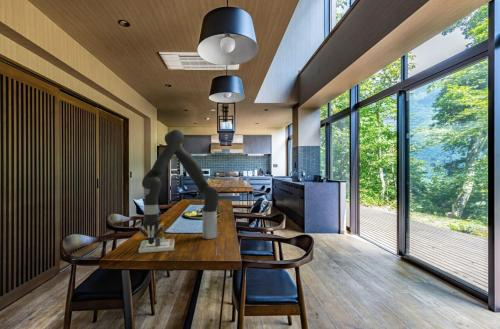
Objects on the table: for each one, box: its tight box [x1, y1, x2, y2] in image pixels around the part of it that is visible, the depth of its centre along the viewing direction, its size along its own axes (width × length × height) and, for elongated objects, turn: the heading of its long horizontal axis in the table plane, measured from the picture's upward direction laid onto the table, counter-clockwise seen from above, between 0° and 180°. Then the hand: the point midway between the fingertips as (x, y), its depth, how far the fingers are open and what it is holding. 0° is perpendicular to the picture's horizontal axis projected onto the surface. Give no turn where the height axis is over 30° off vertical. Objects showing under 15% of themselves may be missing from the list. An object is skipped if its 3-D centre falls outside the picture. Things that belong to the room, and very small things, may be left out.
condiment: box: [154, 218, 166, 240], centre depth 167 cm, size 7×8×12 cm
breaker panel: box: [138, 238, 175, 254], centre depth 148 cm, size 18×16×2 cm
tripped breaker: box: [155, 238, 161, 246], centre depth 144 cm, size 2×2×4 cm
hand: (151, 243), depth 144 cm, fingers closed
